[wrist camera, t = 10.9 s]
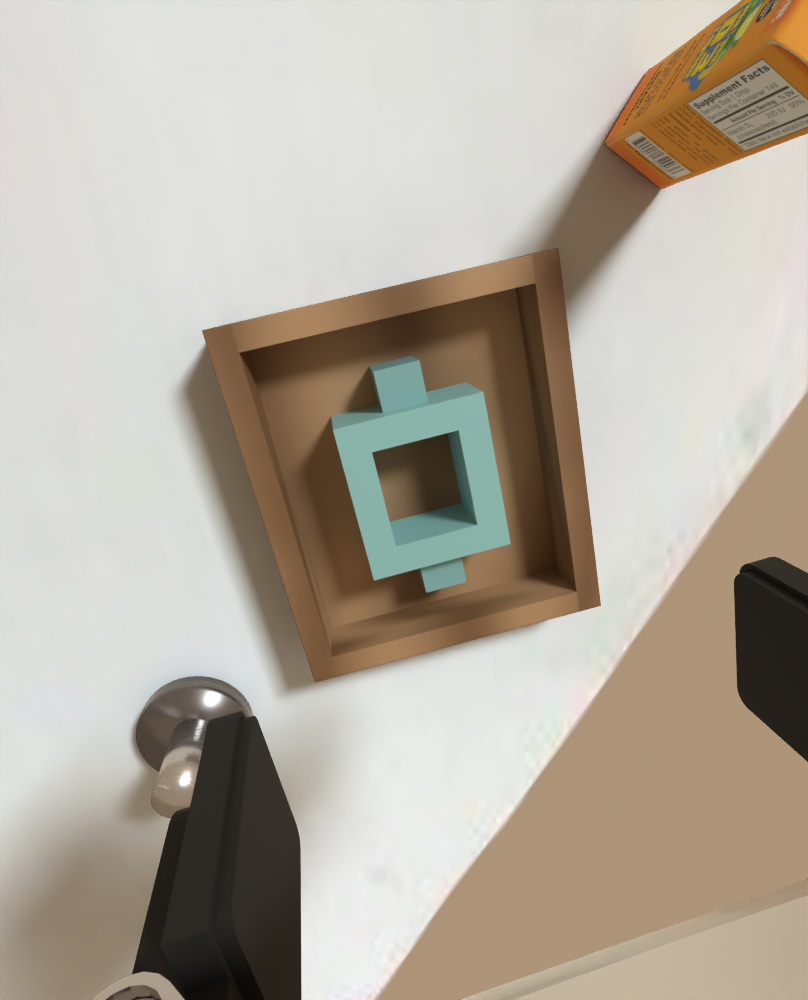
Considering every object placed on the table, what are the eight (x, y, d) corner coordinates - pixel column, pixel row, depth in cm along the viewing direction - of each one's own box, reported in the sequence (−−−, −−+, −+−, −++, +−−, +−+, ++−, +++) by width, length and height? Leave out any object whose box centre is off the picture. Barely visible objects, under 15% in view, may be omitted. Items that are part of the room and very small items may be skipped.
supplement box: (644, 59, 23) (874, -113, 13) (708, 116, 24) (965, -7, 14) (593, 143, 23) (778, 36, 14) (658, 194, 24) (872, 127, 15)
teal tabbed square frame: (320, 378, 24) (321, 387, 22) (458, 343, 25) (475, 349, 22) (376, 583, 27) (383, 614, 25) (498, 551, 28) (516, 577, 25)
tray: (315, 644, 29) (315, 682, 26) (215, 327, 24) (201, 330, 21) (573, 576, 29) (600, 605, 27) (530, 254, 24) (558, 248, 22)
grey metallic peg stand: (164, 777, 30) (136, 862, 25) (125, 693, 28) (89, 768, 24) (266, 749, 30) (257, 828, 26) (234, 664, 28) (218, 732, 24)
